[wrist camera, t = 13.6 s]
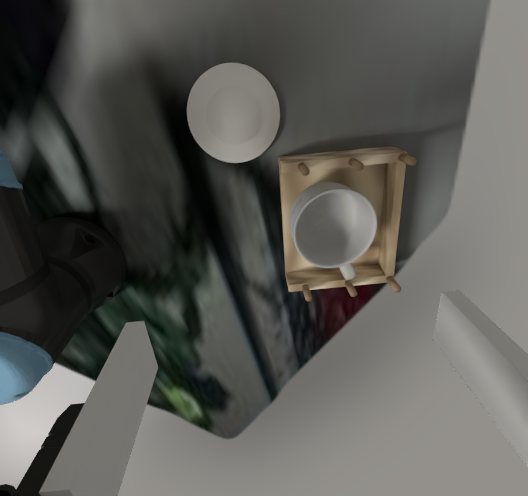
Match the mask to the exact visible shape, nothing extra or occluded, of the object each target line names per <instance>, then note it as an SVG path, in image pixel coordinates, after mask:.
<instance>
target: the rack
mask: <svg viewBox="0 0 528 496" xmlns="http://www.w3.org/2000/svg"><path fill="white" fill-rule="evenodd" d="M278 159H279V175H280V192H281V208H282V225H283V241H284V258H285V274H286V280H287V284H288V289H289V292H293V291H303V293H304V296H305V300H306V301H311V300H312V296H311V292H310V290H313V289H323V288H334V287H344V286H346V288H347V290H348V292H349V294H350V295H351V296H352V297H355V296H356V295H357V292H356V290H355V288H354V285H365V284H375V283H385V282H388V283H389V284H390V286H391V287H392V288H393V290H394V291H395V292H397V293H398V292H400V291H401V287H400V286H399V285H398V284H397V282H396V281H395V280H394V269H395V259H396V250H397V241H398V232H399V223H400V214H401V205H402V196H403V187H404V178H405V169H406V164H408V165H411V166H414V165H416V163H417V159H416V158H415V157H412V156H410V155H407V151H404V150H401V149H399V148H396V147H393V146H387V147H376V148H365V149H354V150H344V151H333V152H322V153H311V154H301V155H290V156H279V157H278ZM321 182H335V183H339V184H342V185H345V186H347V187H349V188H350V189H352V190H354V191H356V192H358V193H360V194H362V195H363V196H365V197H366V198H367V199H368V200H369V201H370V203H371V204H372V206H373V208H374V209H375V212H376V216H377V230H376V235H375V237H374V240H373V242H372V244H371V245H370V247H369V248H368V250H367V251H366V252H365V253H364V254H363V255H362V256H360V257H359V258H358V259H356V260H355V261H353V262H352V265H353V267H354V270H355V273H356V276H355V277H354V278H352V279H350V280H346V279H345V278H344V276H343V274H342V272H341V270H340V268H339V267H336V268H322V267H317V266H314V265H312V264H310V263H308V262H307V261H306V260H305V259H304V258H303V257H302V256H301V255H300V254H299V252H298V251H297V249H296V247H295V244H294V240H293V238H292V235H291V232H290V227H289V214H290V210H291V207H292V204H293V203H294V201H295V199H296V198H297V196H298V195H299V194H300V193H301V192H302V191H304V190H305V189H306V188H308V187H310V186H312V185H314V184H317V183H321Z"/></svg>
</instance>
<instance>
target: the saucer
mask: <svg viewBox="0 0 528 496" xmlns="http://www.w3.org/2000/svg"><path fill="white" fill-rule="evenodd" d="M187 119H188V124H189V128H190V130H191V133H192V135H193V137H194V139H195V140H196V142H197V143H198V145H199V146H200V147H201V148H202V149H203V150H204V151H205V152H206V153H208V154H209V155H211V156H212V157H214V158H216V159H218V160H221V161H224V162H229V163H241V162H246V161H249V160H252V159H254V158H256V157H258V156H259V155H261V154H262V153H263V152H264V151H265V150H266V149H267V148H268V147H269V146H270V145H271V143H272V142H273V140H274V138H275V136H276V133H277V131H278V127H279V122H280V108H279V102H278V98H277V96H276V93H275V91H274V89H273V87H272V86H271V84H270V83H269V81H268V80H267V79H266V78H265V77H264V76H263V75H262V74H261V73H260V72H258V71H257V70H255V69H254V68H252V67H249V66H247V65H244V64H240V63H224V64H219V65H216V66H214V67H212V68H210V69H208V70H207V71H206V72H204V73H203V74H202V75H201V76H200V77H199V78H198V80H197V81H196V82H195V84H194V85H193V87H192V89H191V92H190V94H189V98H188V103H187Z"/></svg>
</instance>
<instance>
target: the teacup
mask: <svg viewBox="0 0 528 496" xmlns="http://www.w3.org/2000/svg"><path fill="white" fill-rule="evenodd" d="M289 227H290V232H291V235H292V238H293V240H294V244H295V247H296V249H297V251H298V252H299V254H300V255H301V256H302V257H303V258H304V259H305V260H306V261H307V262H308V263H310V264H312V265H314V266H317V267H322V268H336V267H339V268H340V270H341V272H342V274H343V276H344V278H345V279H346V280H350V279H352V278H354V277H355V276H356V273H355V270H354V267H353V265H352V262H353V261H355V260H356V259H358V258H359V257H360V256H362V255H363V254H364V253H365V252H366V251H367V250H368V248H369V247H370V245H371V244H372V242H373V240H374V237H375V235H376V230H377V216H376V212H375V209H374V208H373V206H372V204H371V203H370V201H369V200H368V199H367V198H366V197H365V196H363V195H362V194H360V193H358V192H356V191H354V190H352V189H350V188H349V187H347V186H345V185H342V184H339V183H335V182H321V183H317V184H314V185H312V186H310V187H308V188H306V189H305V190H304V191H302V192H301V193H300V194H299V195H298V196H297V198H296V199H295V201H294V203H293V204H292V207H291V210H290V214H289Z"/></svg>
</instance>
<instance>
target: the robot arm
mask: <svg viewBox="0 0 528 496" xmlns="http://www.w3.org/2000/svg"><path fill="white" fill-rule="evenodd" d="M21 189H23V187H22V185H21V184H20V183H18V181H17V179H16V177H15V174H14V172H13V170H12V167H11V165H10V163H9V160H8V158H7V156H6V155H5V153H4V152H3V151H2V150H1V149H0V405H2V404H7V403H10V402H13V401H16V400H18V399H20V398H22V397H24V396H25V395H27V394H28V393H29V392H30V391H32V390H33V388H34V387H35V386H36V385H37V384H38V382H39V381H40V380H41V379H42V377H43V376H44V375H45V374H47V372H49V371H50V370H51V368H52V366H53V364H54V363H55V361H56V360H57V358H58V357H59V355H60V354H61V352H62V351H63V349H64V348H65V347H66V345H67V344H68V342H69V341H70V339H71V338H72V336H73V335H74V333H75V332H76V330H77V329H78V327H79V326H80V324H81V323H82V321H83V320H84V318H85V317H86V316H87V314H89V313H91V312H92V311H94V310H96V309H97V308H99V307H101V306H102V305H104V304H105V303H107V302H108V301H110V300H111V299H112V298H113V297H114V296H115V295H116V293H117V292H118V290H119V289H120V287H121V286H122V284H123V282H124V280H125V277H126V260H125V257H124V254H123V252H122V250H121V248H120V246H119V245H118V244H117V242H116V241H115V240H114V239H113V238H112V237H111V236H110V235H109V234H108V233H107V232H106V231H105V230H103V229H102V228H100V227H99V226H97V225H95V224H93V223H91V222H88V221H86V220H83V219H79V218H74V217H55V218H51V219H47V220H45V221H43V222H41V223H39V224H37V225H36V226H35V225H34V223H33V220H32V217H31V215H30V212H29V209H28V207H27V204H26V201H25V199H24V196H23V193H22V190H21ZM433 341H434V343H435V344H436V345H437V346H438V348H439V349H440V351H441V352H442V353H443V355H444V356H445V357H446V359H447V360H448V361H449V362H450V364H451V365H452V366H453V368H454V369H455V371H456V372H457V373H458V374H459V376H460V377H461V378H462V380H463V381H464V382H465V384H466V385H467V387H468V388H469V389H470V391H471V392H472V393H473V395H474V396H475V397H476V399H478V401H479V402H480V404H481V405H482V406H483V408H484V409H485V411H486V412H487V413H488V415H489V416H490V417H491V419H492V420H493V421H494V423H495V424H496V425H497V426H498V428H499V429H500V431H501V432H502V433H503V435H504V436H505V437H506V439H507V440H508V441H509V443H510V444H511V445H512V447H513V448H514V449H515V451H516V452H517V453H518V455H519V456H520V457H521V458H522V460H523V461H524V463H525V464H526V465H527V466H528V354H527V353H526V352H525V351H524V350H523V349H521V348H520V347H519V346H518V345H517V344H516V343H515V342H514V341H513V340H512V339H511V338H510V337H509V336H508V335H506V334H505V333H504V332H503V331H502V330H501V329H500V328H499V327H498V326H497V325H496V324H495V323H494V322H492V320H491V319H489V318H488V317H487V316H486V315H485V314H484V313H483V312H482V311H481V310H480V309H479V308H478V307H477V306H475V305H474V304H473V303H472V302H471V301H470V300H469V299H468V298H467V297H466V296H465V295H463V293H462V292H461V291H459V290H456V291H446V292H442V295H441V300H440V305H439V310H438V315H437V320H436V326H435V331H434V337H433ZM157 369H158V365H157V362H156V359H155V356H154V352H153V349H152V346H151V343H150V339H149V336H148V333H147V330H146V326H145V323H144V321H139V322H129V323H126V324H125V326H124V328H123V330H122V332H121V334H120V336H119V338H118V340H117V342H116V344H115V346H114V348H113V350H112V351H111V353H110V355H109V357H108V359H107V361H106V363H105V365H104V367H103V369H102V371H101V373H100V375H99V377H98V379H97V381H96V383H95V385H94V386H93V388H92V390H91V392H90V394H89V396H88V398H87V400H86V402H85V403H81V404H72V405H70V406H69V407H68V408H67V409H66V410H65V411H64V412H63V413H62V414H61V415H60V416H59V417H58V418H57V420H56V422H55V424H54V425H53V427H52V429H51V431H50V432H49V436H48V437H46V439H45V441H44V443H43V444H42V446H41V450H39V452H38V453H37V455H36V457H35V458H34V460H33V462H32V463H31V466H30V467H29V469H28V470H27V472H26V474H25V476H24V477H23V479H22V481H21V483H20V484H19V486H18V488H17V489H15V488H14V486H10V485H7V484H5V485H0V496H117V495H118V492H119V489H120V486H121V483H122V479H123V477H124V473H125V470H126V467H127V464H128V461H129V458H130V454H131V451H132V448H133V445H134V442H135V438H136V435H137V432H138V429H139V425H140V423H141V420H142V417H143V413H144V410H145V407H146V404H147V401H148V398H149V394H150V391H151V388H152V385H153V382H154V379H155V376H156V372H157Z"/></svg>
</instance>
